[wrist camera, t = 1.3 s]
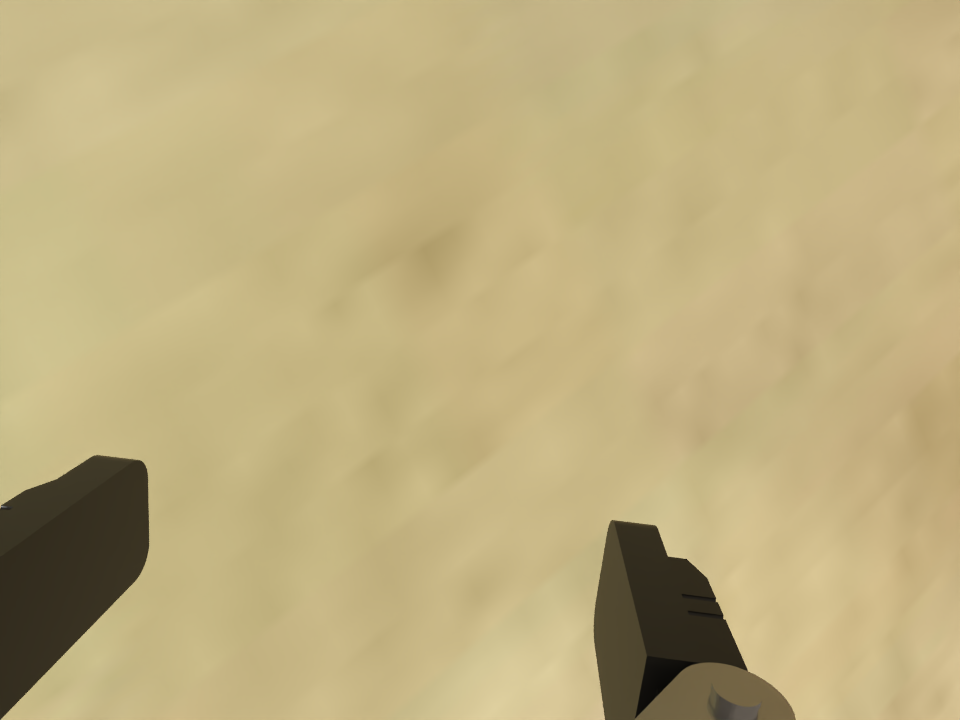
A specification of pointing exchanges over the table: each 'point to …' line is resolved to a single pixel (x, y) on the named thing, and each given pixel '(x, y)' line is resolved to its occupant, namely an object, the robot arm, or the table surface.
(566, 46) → the table surface
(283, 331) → the table surface
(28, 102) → the table surface
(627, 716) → the robot arm
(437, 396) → the table surface
